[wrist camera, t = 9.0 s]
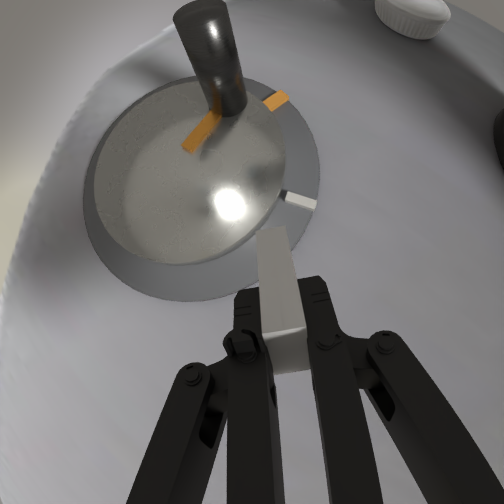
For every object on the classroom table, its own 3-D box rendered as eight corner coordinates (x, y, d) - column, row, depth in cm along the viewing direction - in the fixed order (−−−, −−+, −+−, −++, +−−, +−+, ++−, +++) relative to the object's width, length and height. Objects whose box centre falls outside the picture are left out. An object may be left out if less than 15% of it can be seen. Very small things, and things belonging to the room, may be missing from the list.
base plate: (239, 52, 31) (237, 42, 29) (369, 213, 26) (374, 207, 24) (69, 157, 31) (61, 151, 30) (142, 346, 27) (133, 349, 25)
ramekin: (414, 2, 31) (421, -20, 26) (454, 46, 29) (466, 23, 23) (355, 1, 32) (359, -25, 26) (393, 46, 29) (402, 17, 24)
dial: (204, 308, 25) (126, 310, 12) (76, 200, 28) (-12, 152, 16) (323, 141, 26) (341, 35, 14) (179, 73, 30) (138, -13, 17)
